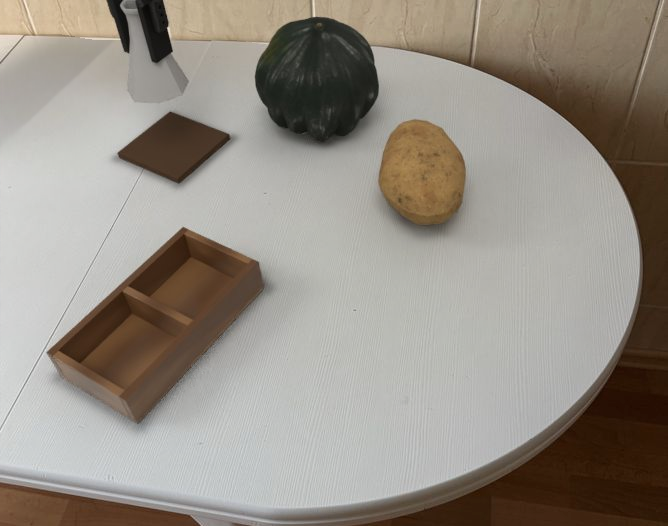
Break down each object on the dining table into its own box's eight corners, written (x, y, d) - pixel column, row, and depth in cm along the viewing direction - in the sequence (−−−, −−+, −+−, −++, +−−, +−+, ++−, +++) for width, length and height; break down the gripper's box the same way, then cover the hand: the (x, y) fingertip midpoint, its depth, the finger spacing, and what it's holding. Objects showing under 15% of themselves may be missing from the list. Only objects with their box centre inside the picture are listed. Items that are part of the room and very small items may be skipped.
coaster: (118, 157, 88) (116, 152, 88) (171, 116, 93) (169, 110, 92) (178, 183, 85) (177, 178, 84) (230, 139, 89) (229, 133, 89)
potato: (384, 253, 76) (385, 196, 69) (372, 170, 84) (371, 112, 78) (474, 246, 76) (483, 188, 69) (453, 163, 84) (459, 105, 78)
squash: (294, 32, 94) (254, -18, 79) (401, 53, 90) (379, 5, 76) (268, 138, 96) (223, 108, 81) (372, 163, 92) (345, 136, 78)
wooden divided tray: (61, 377, 68) (45, 352, 65) (191, 253, 77) (183, 226, 74) (137, 424, 64) (125, 400, 61) (264, 288, 74) (259, 261, 70)
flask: (188, 66, 84) (168, -19, 76) (191, 101, 80) (170, 14, 72) (127, 75, 84) (101, -9, 76) (127, 110, 80) (99, 24, 72)
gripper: (178, -210, 59) (227, 54, 77) (43, -231, 65) (118, 18, 83) (115, -181, 55) (182, 89, 74) (-22, -207, 61) (72, 48, 80)
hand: (148, 51), depth 78 cm, fingers closed on flask, 3 cm apart
